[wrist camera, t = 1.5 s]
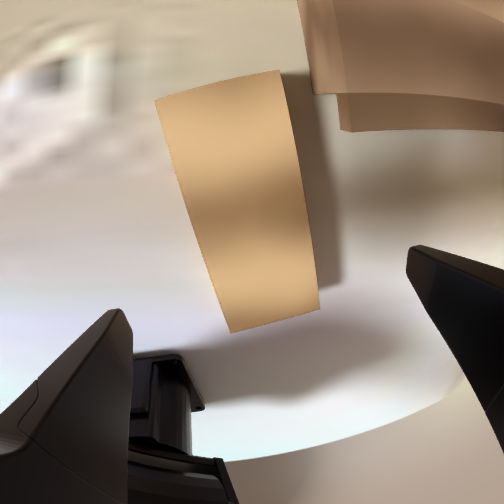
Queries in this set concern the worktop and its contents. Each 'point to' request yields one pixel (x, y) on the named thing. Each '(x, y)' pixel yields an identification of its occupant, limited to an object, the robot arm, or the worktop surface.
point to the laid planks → (408, 62)
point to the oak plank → (244, 196)
